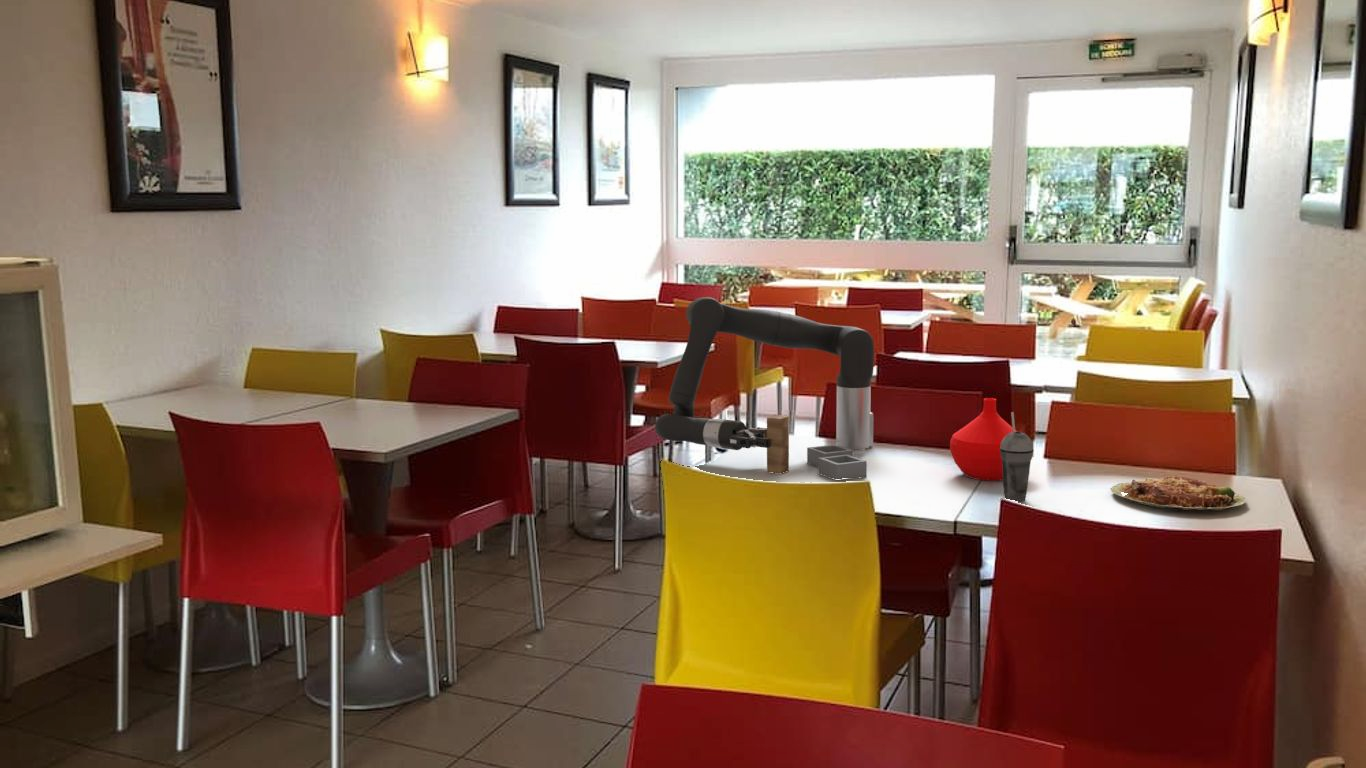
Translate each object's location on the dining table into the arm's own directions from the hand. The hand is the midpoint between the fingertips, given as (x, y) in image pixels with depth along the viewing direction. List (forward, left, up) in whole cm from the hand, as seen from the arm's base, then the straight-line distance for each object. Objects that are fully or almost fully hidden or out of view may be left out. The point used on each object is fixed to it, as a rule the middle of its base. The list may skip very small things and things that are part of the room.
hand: (779, 440), depth 276 cm
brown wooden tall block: (0, 0, -8) cm, 8 cm away
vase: (-43, +28, -8) cm, 52 cm away
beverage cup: (-33, +49, -8) cm, 59 cm away
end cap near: (-12, +11, -8) cm, 18 cm away
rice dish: (-65, +65, -9) cm, 92 cm away
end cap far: (-16, -1, -8) cm, 18 cm away
